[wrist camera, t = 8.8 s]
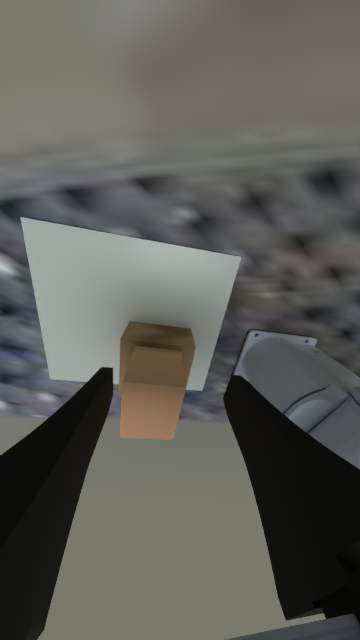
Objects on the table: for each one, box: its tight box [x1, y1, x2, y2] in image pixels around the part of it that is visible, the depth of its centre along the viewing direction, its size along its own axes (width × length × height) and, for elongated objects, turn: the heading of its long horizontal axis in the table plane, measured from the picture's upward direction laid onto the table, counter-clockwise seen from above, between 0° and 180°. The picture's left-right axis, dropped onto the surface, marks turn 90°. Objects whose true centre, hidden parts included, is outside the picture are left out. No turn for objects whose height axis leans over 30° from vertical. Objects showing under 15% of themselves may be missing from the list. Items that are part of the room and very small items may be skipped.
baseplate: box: [20, 217, 241, 391], centre depth 19 cm, size 20×18×1 cm
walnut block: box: [119, 321, 196, 399], centre depth 19 cm, size 7×7×4 cm
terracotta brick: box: [120, 346, 186, 440], centre depth 15 cm, size 4×6×4 cm
